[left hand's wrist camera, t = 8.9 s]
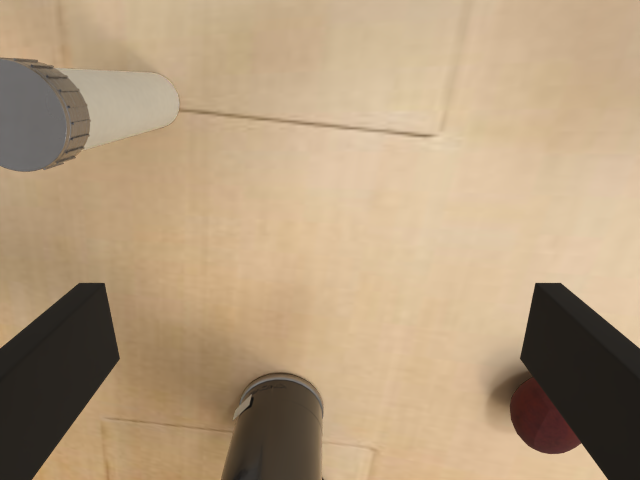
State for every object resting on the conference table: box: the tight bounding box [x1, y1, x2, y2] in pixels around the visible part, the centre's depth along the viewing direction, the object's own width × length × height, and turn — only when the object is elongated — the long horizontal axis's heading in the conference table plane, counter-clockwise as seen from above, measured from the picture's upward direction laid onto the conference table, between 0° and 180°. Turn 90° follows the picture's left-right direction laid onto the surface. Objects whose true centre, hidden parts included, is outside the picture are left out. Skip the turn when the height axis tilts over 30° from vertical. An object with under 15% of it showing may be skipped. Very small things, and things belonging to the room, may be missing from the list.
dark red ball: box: [510, 377, 581, 454], centre depth 43 cm, size 7×8×7 cm
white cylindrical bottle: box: [55, 68, 180, 151], centre depth 28 cm, size 4×4×17 cm
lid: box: [0, 58, 91, 172], centre depth 20 cm, size 5×5×2 cm
